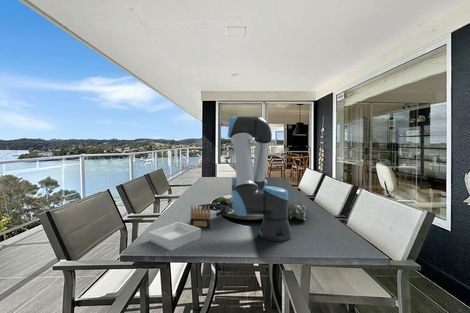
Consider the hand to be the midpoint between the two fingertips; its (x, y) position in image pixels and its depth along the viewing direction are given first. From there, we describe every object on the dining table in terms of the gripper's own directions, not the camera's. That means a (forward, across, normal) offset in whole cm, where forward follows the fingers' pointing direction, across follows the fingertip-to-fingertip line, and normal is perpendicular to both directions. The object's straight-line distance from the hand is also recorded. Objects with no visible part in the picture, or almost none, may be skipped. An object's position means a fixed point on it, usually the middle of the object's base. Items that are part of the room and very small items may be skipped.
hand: (201, 213), depth 134 cm
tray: (+20, -3, -7) cm, 21 cm away
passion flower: (-42, -34, -7) cm, 54 cm away
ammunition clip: (+2, -1, -7) cm, 8 cm away
